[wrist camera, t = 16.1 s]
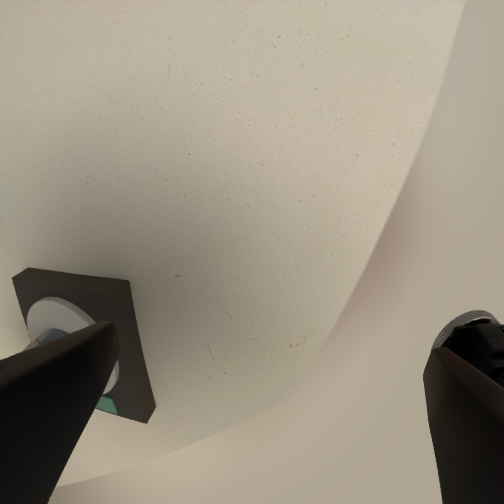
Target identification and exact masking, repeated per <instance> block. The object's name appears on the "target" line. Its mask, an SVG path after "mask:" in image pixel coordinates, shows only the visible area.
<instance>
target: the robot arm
mask: <svg viewBox="0 0 504 504" xmlns="http://www.w3.org/2000/svg"><path fill="white" fill-rule="evenodd" d="M457 331H458V332H457ZM456 332H457V333H456ZM120 352H121V343H120V339H119V335H118V330H117V327H116V325H115V323H113V322H108V321H100V322H98V323H95V324H92V325H90V326H87V327H85V328H82V329H80V330H77V331H75V332H72V333H69V334H67V335H64V336H62V337H59V338H57V339H54V340H51V341H49V342H46V343H44V344H41V345H38V346H36V347H33V348H31V349H28V350H26V351H23V352H20V353H18V354H15V355H13V356H10V357H8V358H5V359H2V360H0V504H47V503H48V502H49V498H50V497H51V495H52V492H53V490H54V488H55V486H56V484H57V482H58V480H59V478H60V476H61V474H62V472H63V470H64V468H65V466H66V464H67V462H68V460H69V458H70V456H71V454H72V452H73V450H74V448H75V446H76V444H77V442H78V440H79V438H80V436H81V434H82V432H83V430H84V428H85V426H86V424H87V423H88V421H89V419H90V417H91V415H92V413H93V411H94V409H95V408H96V406H97V404H98V402H99V400H100V398H101V396H102V394H103V392H104V390H105V388H106V386H107V384H108V381H109V379H110V376H111V374H112V371H113V369H114V367H115V364H116V362H117V360H118V357H119V355H120ZM423 381H424V388H425V396H426V404H427V413H428V422H429V427H430V433H431V437H432V442H433V447H434V453H435V458H436V463H437V469H438V475H439V482H440V488H441V495H442V502H443V504H504V324H502V325H501V324H500V325H496V324H476V325H465V326H456V327H454V328H453V330H452V332H451V335H450V338H449V341H448V344H447V347H446V348H434V349H432V351H431V353H430V356H429V359H428V361H427V364H426V367H425V370H424V374H423Z"/></svg>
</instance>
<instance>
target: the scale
mask: <svg viewBox="0 0 504 504" xmlns="http://www.w3.org/2000/svg"><path fill="white" fill-rule="evenodd" d="M12 280H13V284H14V288H15V291H16V295H17V298H18V302H19V305H20V308H21V311H22V314H23V317H24V320H25V323H26V326H27V329H28V333H29V337H30V340H31V342H33V341H34V340H35V339H36V338H37V337H39V336H40V335H41V334H42V333H44V332H45V331H46V330H48V329H51V328H56V329H60V330H63V331H65V332H67V333H72V332H75V331H77V330H80V329H82V328H85V327H87V326H90V325H92V324H95V323H98V322H100V321H108V322H113V323H115V325H116V327H117V330H118V335H119V339H120V343H121V352H120V355H119V357H118V360H117V362H116V364H115V367H114V369H113V371H112V374H111V376H110V379H109V381H108V384H107V386H106V388H105V390H104V392H103V394H102V396H101V398H100V400H99V402H98V404H97V406H96V408H95V409H98V410H102V411H105V412H108V413H111V414H114V415H117V416H121V417H124V418H128V419H131V420H135V421H138V422H142V423H146V424H147V423H148V421H149V419H150V417H151V415H152V413H153V411H154V410H155V408H156V405H155V401H154V397H153V394H152V390H151V386H150V382H149V378H148V374H147V369H146V365H145V361H144V356H143V352H142V347H141V343H140V338H139V333H138V328H137V323H136V318H135V312H134V307H133V301H132V295H131V289H130V283H129V281H127V280H118V279H110V278H102V277H93V276H86V275H78V274H70V273H63V272H56V271H48V270H41V269H35V268H27V269H25V270H24V271H22V272H20V273H19V274H17V275H16V276H14V277H12Z"/></svg>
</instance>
